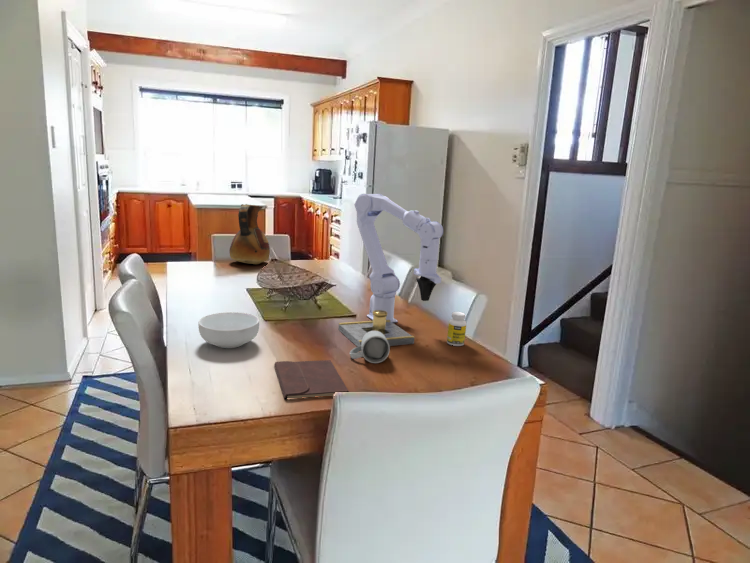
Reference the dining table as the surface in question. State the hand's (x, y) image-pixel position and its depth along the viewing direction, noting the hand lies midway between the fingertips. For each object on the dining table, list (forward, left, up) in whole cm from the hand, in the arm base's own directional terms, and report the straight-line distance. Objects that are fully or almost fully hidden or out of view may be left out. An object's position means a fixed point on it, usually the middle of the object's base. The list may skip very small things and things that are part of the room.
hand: (425, 300), depth 171 cm
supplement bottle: (+14, +4, -11) cm, 18 cm away
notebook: (+29, -47, -11) cm, 57 cm away
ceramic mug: (+19, -27, -11) cm, 35 cm away
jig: (+2, -18, -10) cm, 21 cm away
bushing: (+2, -17, -10) cm, 20 cm away
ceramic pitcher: (-120, -34, -11) cm, 125 cm away
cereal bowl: (-2, -62, -11) cm, 63 cm away
